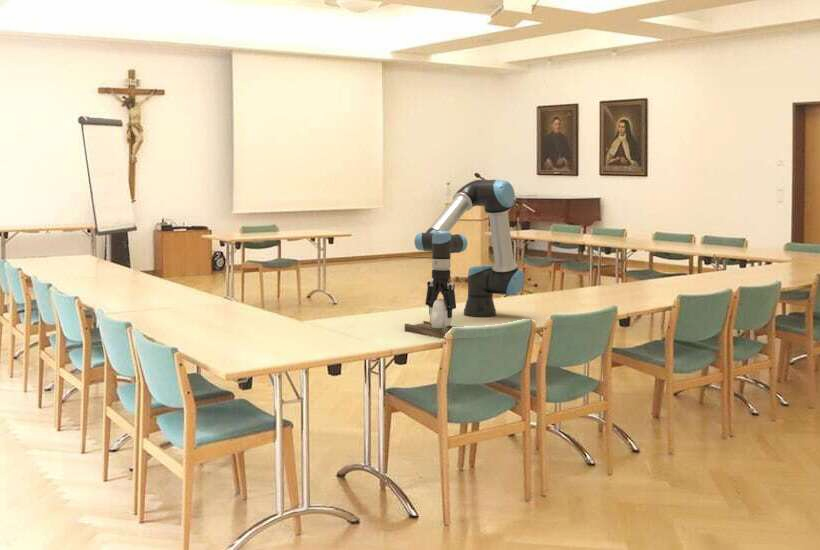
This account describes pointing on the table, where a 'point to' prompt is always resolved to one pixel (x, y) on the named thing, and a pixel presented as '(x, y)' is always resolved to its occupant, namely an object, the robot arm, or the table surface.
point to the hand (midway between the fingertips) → (440, 324)
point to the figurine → (438, 314)
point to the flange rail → (427, 329)
